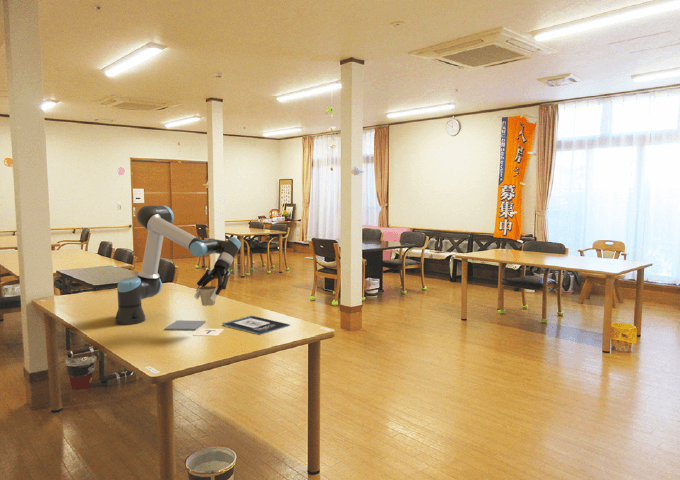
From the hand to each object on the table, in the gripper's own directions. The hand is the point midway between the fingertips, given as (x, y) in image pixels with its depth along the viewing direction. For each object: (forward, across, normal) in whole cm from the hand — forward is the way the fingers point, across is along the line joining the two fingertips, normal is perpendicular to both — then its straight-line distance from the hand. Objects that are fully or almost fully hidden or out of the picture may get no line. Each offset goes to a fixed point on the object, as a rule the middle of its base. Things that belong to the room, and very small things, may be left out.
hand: (204, 298), depth 226 cm
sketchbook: (-4, -14, -30) cm, 33 cm away
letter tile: (+10, 0, -15) cm, 18 cm away
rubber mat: (+7, +19, -18) cm, 27 cm away
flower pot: (+1, 0, -5) cm, 5 cm away
